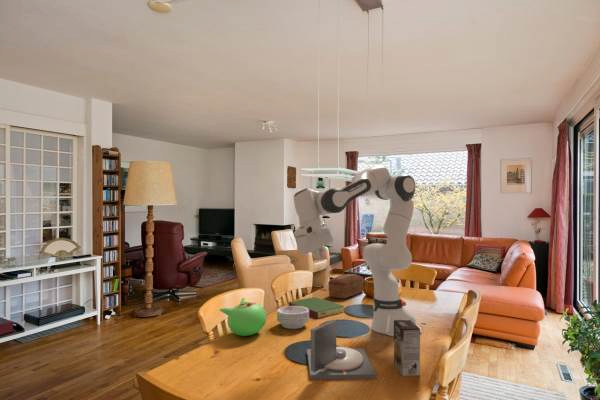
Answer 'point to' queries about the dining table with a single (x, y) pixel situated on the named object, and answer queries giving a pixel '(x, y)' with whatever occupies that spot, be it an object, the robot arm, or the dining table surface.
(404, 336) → the coffee box
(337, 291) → the bread
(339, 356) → the dial
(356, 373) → the dial board
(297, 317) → the paper bowls
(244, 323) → the green teapot
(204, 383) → the dining table surface
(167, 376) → the dining table surface
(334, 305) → the hardcover book
